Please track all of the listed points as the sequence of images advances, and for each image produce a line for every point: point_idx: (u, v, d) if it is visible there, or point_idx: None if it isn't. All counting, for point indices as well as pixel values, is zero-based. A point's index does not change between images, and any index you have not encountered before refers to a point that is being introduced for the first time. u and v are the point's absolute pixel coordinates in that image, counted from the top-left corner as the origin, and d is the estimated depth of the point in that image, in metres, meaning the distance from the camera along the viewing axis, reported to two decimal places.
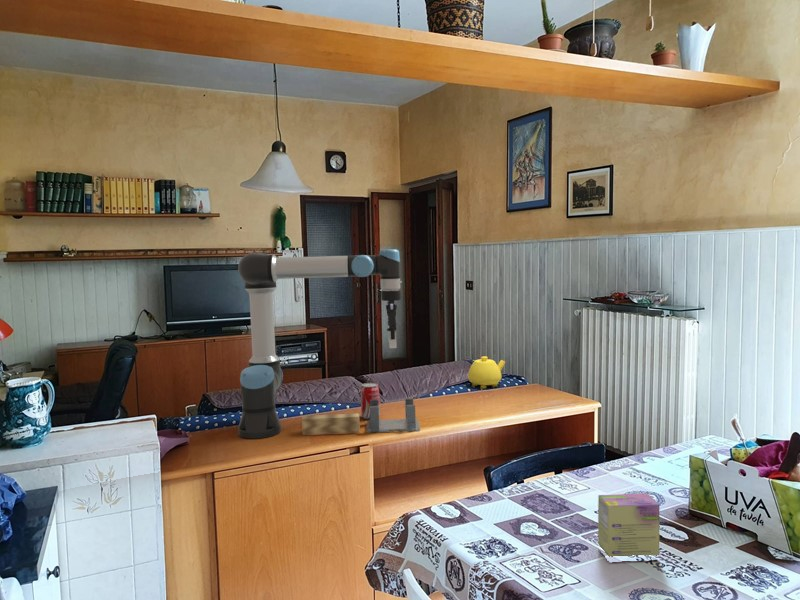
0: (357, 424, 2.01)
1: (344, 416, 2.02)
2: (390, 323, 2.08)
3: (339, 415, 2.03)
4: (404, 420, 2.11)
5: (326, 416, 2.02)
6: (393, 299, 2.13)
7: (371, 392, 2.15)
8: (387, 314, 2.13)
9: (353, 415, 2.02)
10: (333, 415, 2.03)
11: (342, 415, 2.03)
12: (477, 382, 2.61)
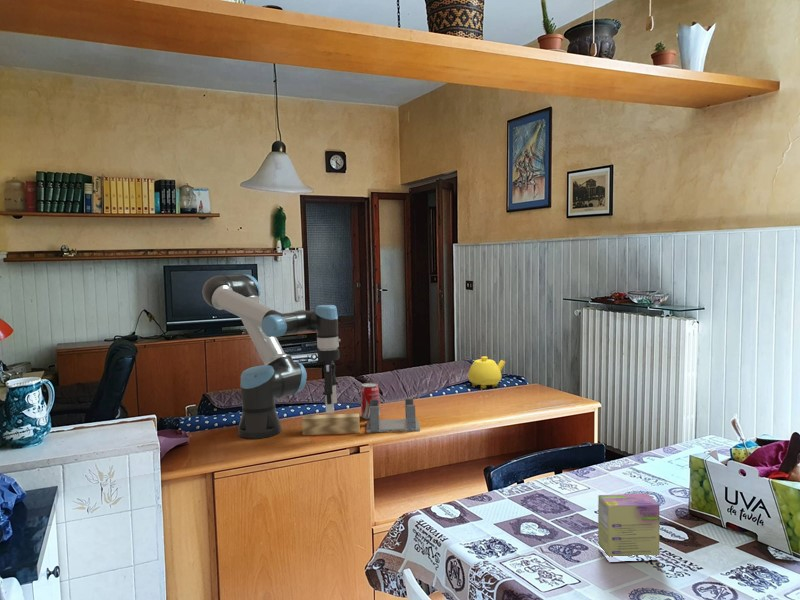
0: (357, 424, 2.01)
1: (344, 416, 2.02)
2: (325, 387, 1.92)
3: (339, 415, 2.03)
4: (404, 420, 2.11)
5: (326, 416, 2.02)
6: (330, 359, 1.97)
7: (371, 392, 2.15)
8: None
9: (353, 416, 2.02)
10: (333, 415, 2.03)
11: (342, 415, 2.03)
12: (477, 382, 2.61)
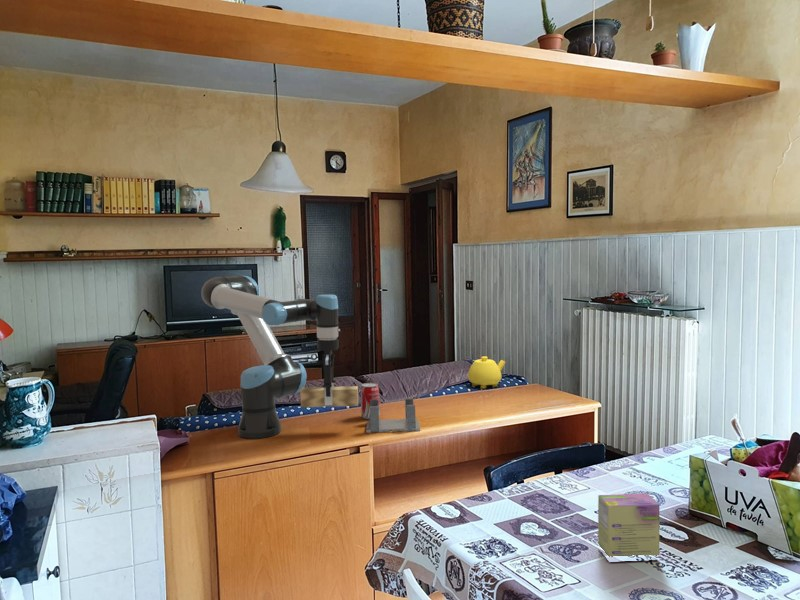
0: (355, 396, 2.00)
1: (342, 388, 2.01)
2: (325, 381, 1.96)
3: (337, 387, 2.03)
4: (404, 420, 2.11)
5: None
6: (329, 349, 1.97)
7: (371, 392, 2.15)
8: None
9: (352, 388, 2.01)
10: (332, 387, 2.03)
11: (341, 387, 2.03)
12: (477, 382, 2.61)
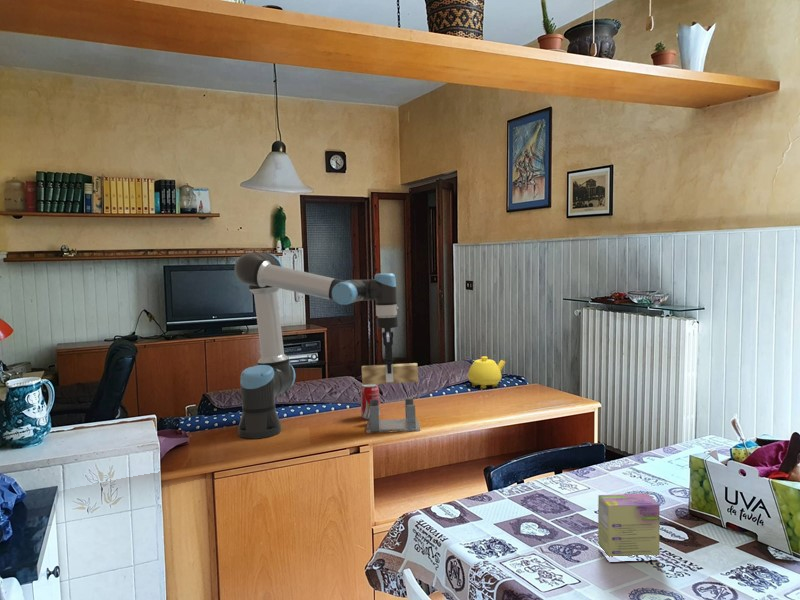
0: (416, 372, 2.03)
1: (403, 365, 2.04)
2: (386, 357, 1.98)
3: (397, 364, 2.06)
4: (404, 420, 2.11)
5: (384, 365, 2.05)
6: (389, 326, 2.00)
7: (371, 392, 2.15)
8: None
9: (412, 364, 2.04)
10: None
11: (401, 364, 2.05)
12: (477, 382, 2.61)
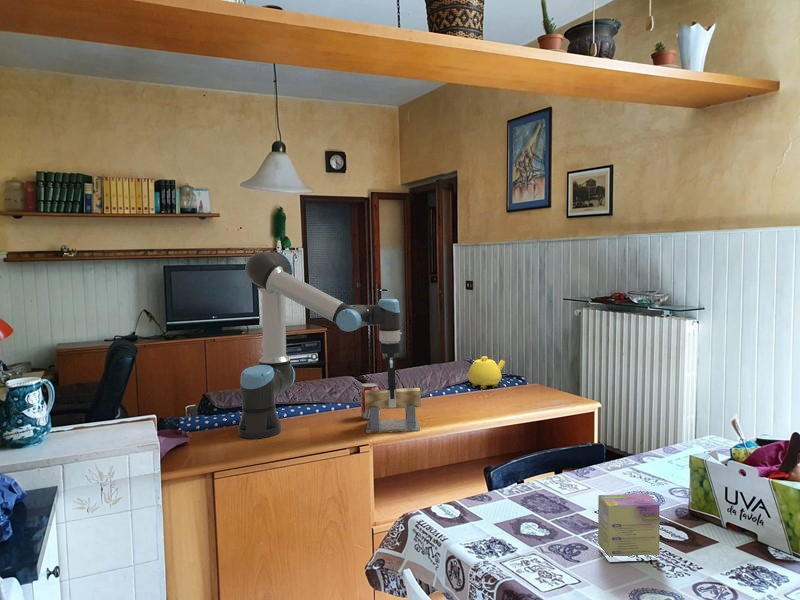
0: (419, 398, 2.04)
1: (405, 390, 2.05)
2: (389, 383, 1.99)
3: (400, 389, 2.07)
4: (404, 420, 2.11)
5: (387, 390, 2.06)
6: (393, 352, 2.01)
7: None
8: None
9: (415, 389, 2.05)
10: None
11: (403, 389, 2.06)
12: (477, 382, 2.61)
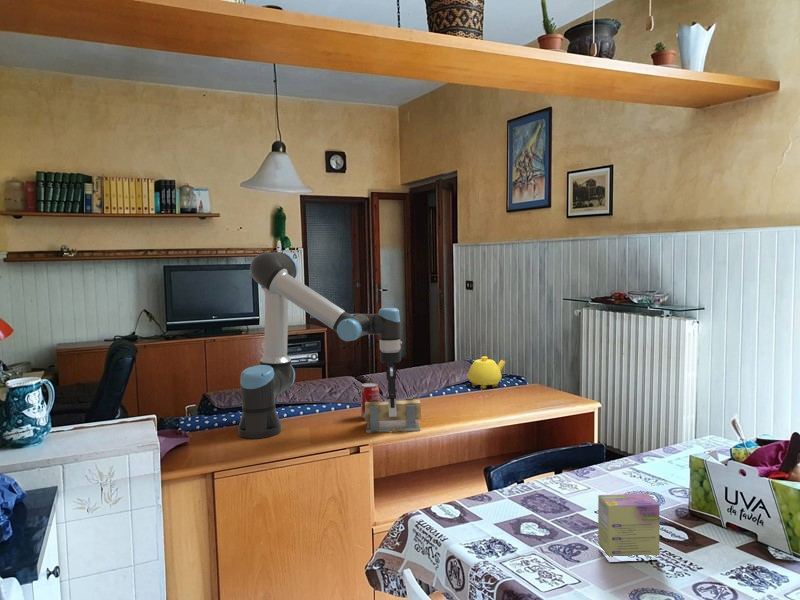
0: (419, 410, 2.04)
1: (406, 402, 2.05)
2: (390, 392, 1.99)
3: (400, 401, 2.07)
4: (404, 420, 2.11)
5: (387, 402, 2.06)
6: (393, 361, 2.01)
7: (371, 392, 2.15)
8: None
9: (415, 402, 2.06)
10: None
11: (404, 401, 2.07)
12: (477, 382, 2.61)
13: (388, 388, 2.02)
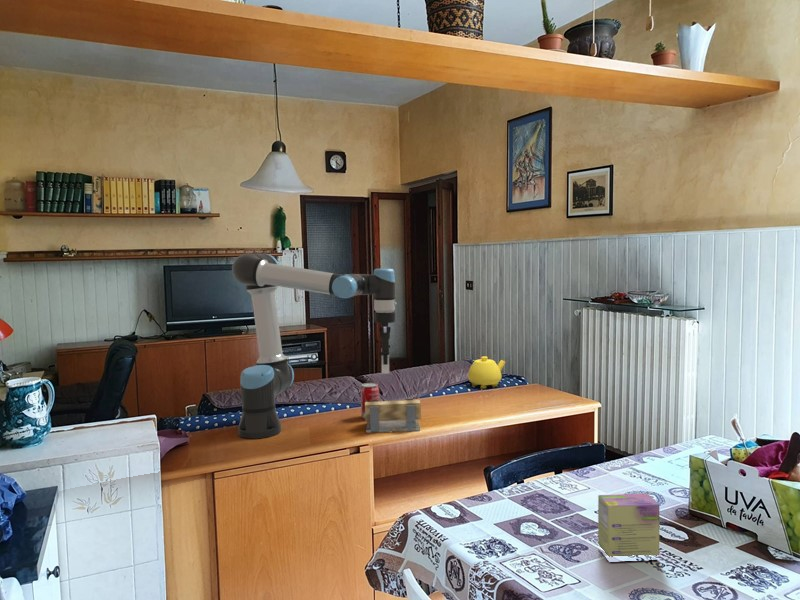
0: (419, 410, 2.04)
1: (406, 402, 2.05)
2: (383, 347, 1.97)
3: (400, 401, 2.07)
4: (404, 420, 2.11)
5: (387, 402, 2.06)
6: (387, 321, 2.02)
7: (371, 392, 2.15)
8: (380, 337, 2.02)
9: (415, 402, 2.06)
10: (394, 401, 2.07)
11: (404, 401, 2.07)
12: (477, 382, 2.61)
13: None
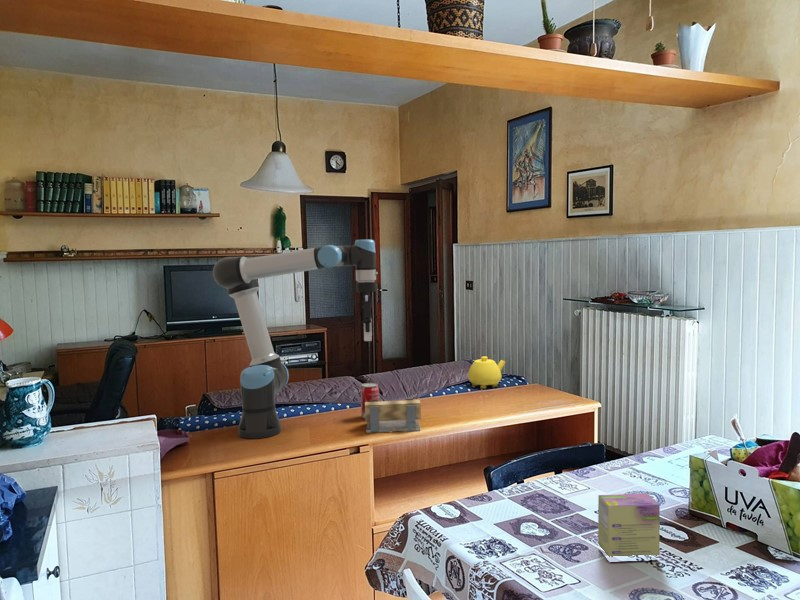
0: (419, 410, 2.04)
1: (406, 402, 2.05)
2: (364, 315, 2.02)
3: (400, 401, 2.07)
4: (404, 420, 2.11)
5: (387, 402, 2.06)
6: (368, 291, 2.07)
7: (371, 392, 2.15)
8: (362, 306, 2.07)
9: (415, 402, 2.06)
10: (394, 401, 2.07)
11: (404, 401, 2.07)
12: (477, 382, 2.61)
13: None
